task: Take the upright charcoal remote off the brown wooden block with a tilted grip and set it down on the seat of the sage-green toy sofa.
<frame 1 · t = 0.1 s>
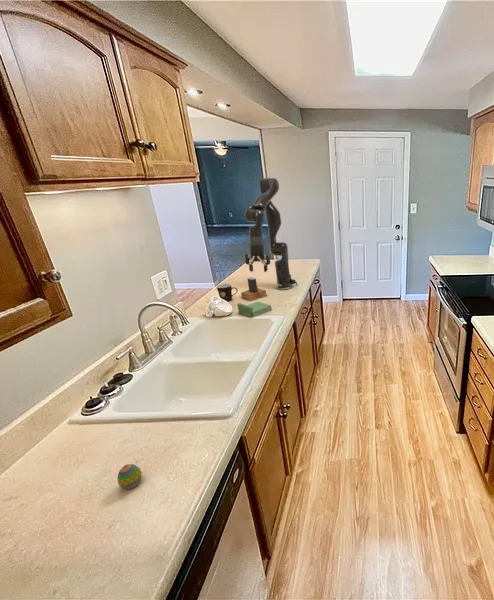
hand: (258, 271, 198), 22 cm above the worktop, tool pointing down, fingers open, 8 cm apart
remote: (253, 291, 220), point 4 cm above the worktop, touching brown wooden block
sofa: (255, 311, 197), on the worktop
egg: (132, 484, 86), on the worktop
coffee mug: (228, 300, 215), on the worktop
skull bowl: (219, 315, 192), on the worktop
brown wooden block: (254, 296, 221), on the worktop
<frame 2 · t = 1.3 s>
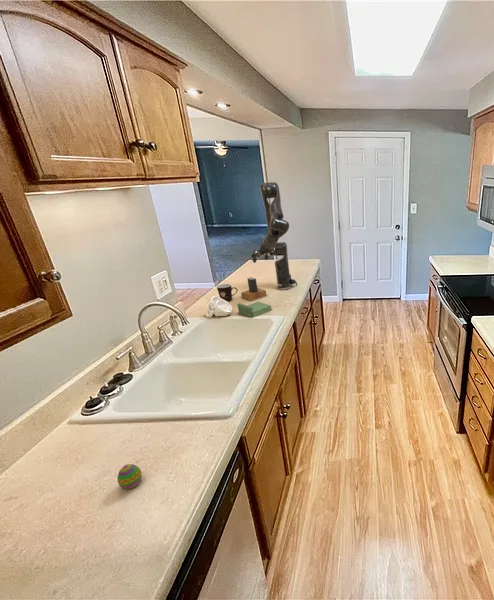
hand: (259, 260, 206), 27 cm above the worktop, tool tilted 45°, fingers open, 8 cm apart
nothing on the worktop moved.
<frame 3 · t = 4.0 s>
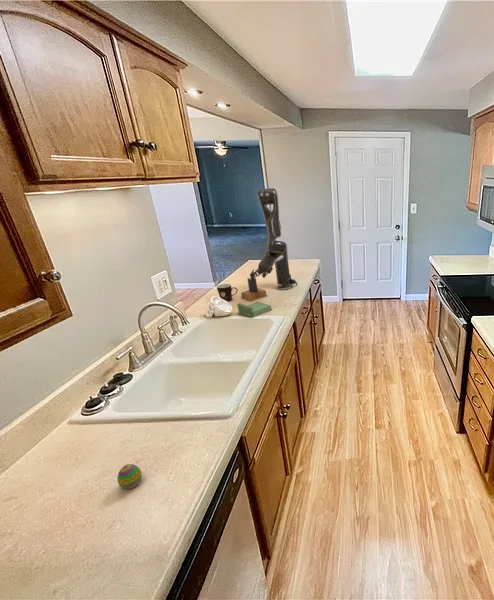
hand: (257, 278, 213), 14 cm above the worktop, tool tilted 45°, fingers open, 8 cm apart
nothing on the worktop moved.
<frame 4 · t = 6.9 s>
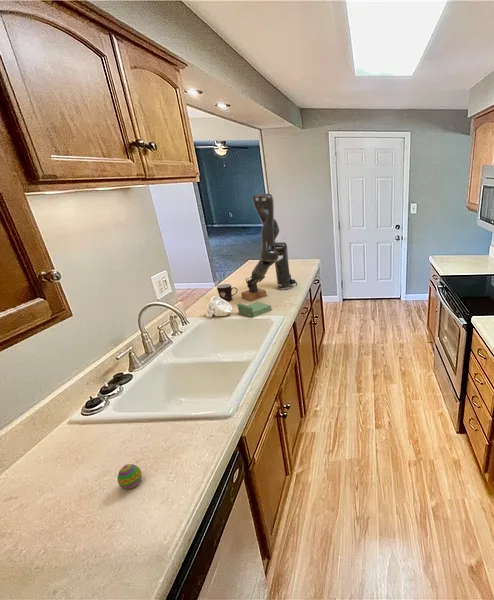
hand: (250, 285, 220), 7 cm above the worktop, tool tilted 45°, fingers closed on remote, 3 cm apart
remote: (253, 291, 220), point 4 cm above the worktop, touching gripper, brown wooden block
everything else where it was.
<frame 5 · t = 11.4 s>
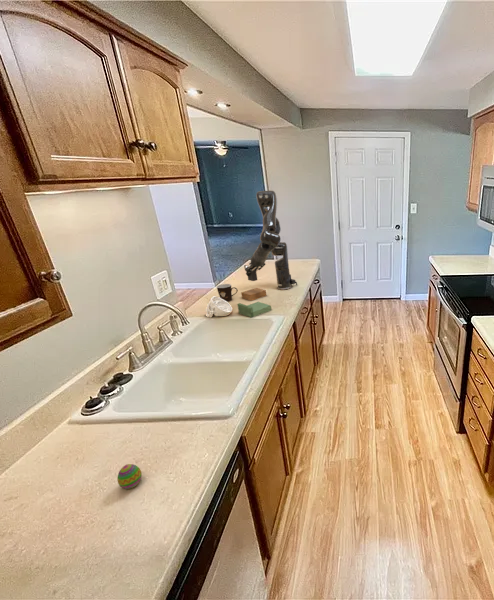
hand: (250, 274, 200), 20 cm above the worktop, tool tilted 45°, fingers closed on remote, 3 cm apart
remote: (252, 280, 200), point 17 cm above the worktop, touching gripper
everything else where it was.
when the fingers open (6 cm above the worktop, at t = 15.8 s): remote stays where it is, resting on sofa.
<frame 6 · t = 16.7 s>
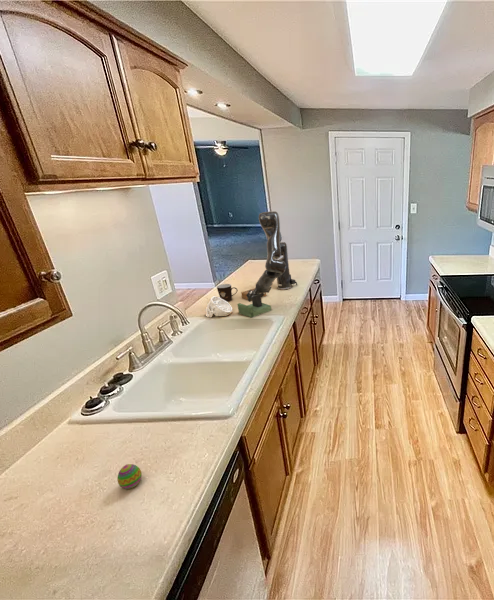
hand: (255, 298, 197), 8 cm above the worktop, tool tilted 45°, fingers open, 8 cm apart
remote: (257, 306, 197), point 3 cm above the worktop, touching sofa
everything else where it was.
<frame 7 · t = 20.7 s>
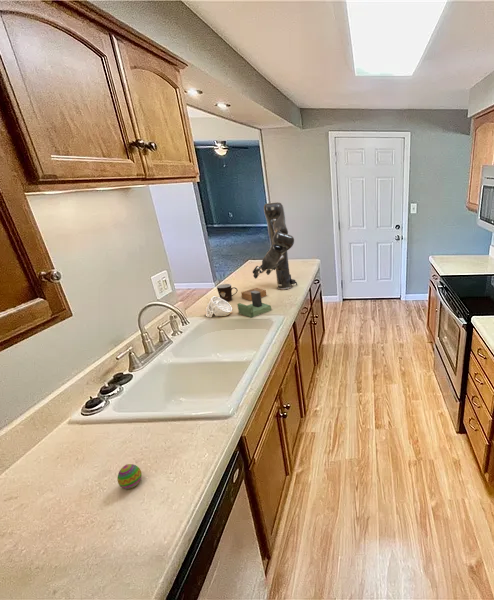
hand: (261, 275, 191), 22 cm above the worktop, tool tilted 45°, fingers open, 8 cm apart
nothing on the worktop moved.
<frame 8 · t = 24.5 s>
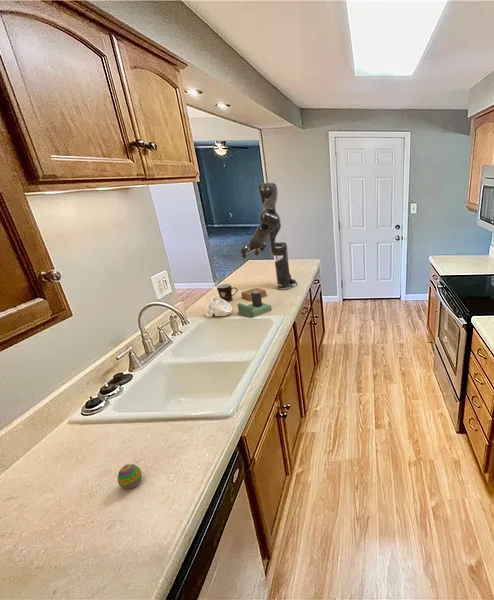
hand: (249, 255, 200), 31 cm above the worktop, tool tilted 45°, fingers open, 8 cm apart
nothing on the worktop moved.
at the end: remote inside the target area on the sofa (1.0 cm from its centre), point 3.0 cm above the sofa's base; the gripper is holding nothing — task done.
